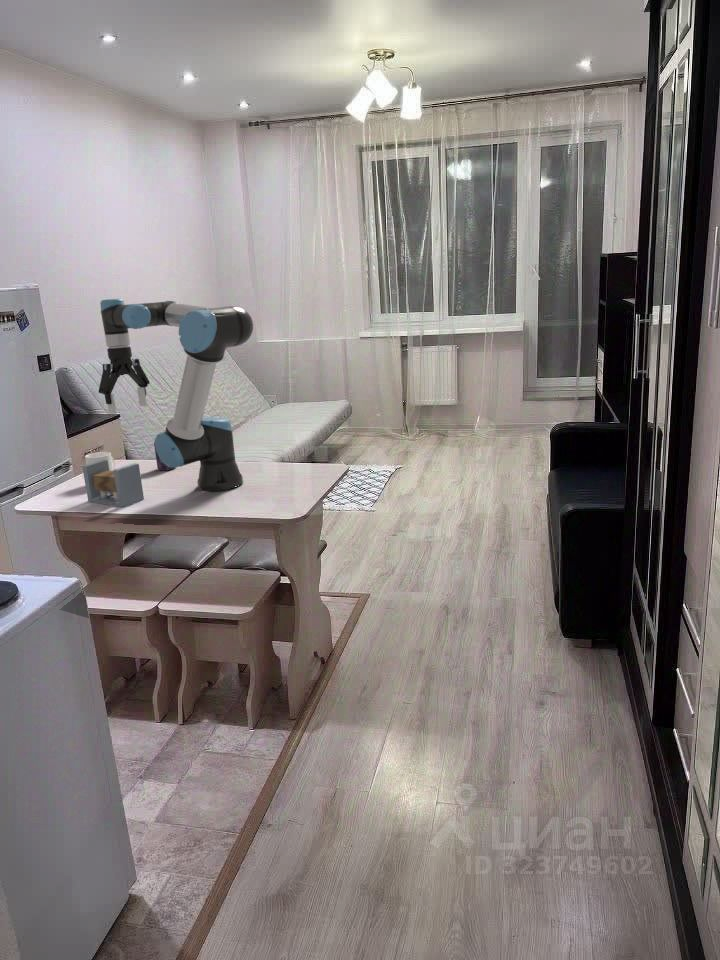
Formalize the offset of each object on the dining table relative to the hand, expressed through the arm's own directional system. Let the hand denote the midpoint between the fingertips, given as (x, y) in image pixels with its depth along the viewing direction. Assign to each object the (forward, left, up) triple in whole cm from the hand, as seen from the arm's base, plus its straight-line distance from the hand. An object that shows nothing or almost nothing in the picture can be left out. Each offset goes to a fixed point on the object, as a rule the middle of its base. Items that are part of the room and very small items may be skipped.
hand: (128, 409), depth 244 cm
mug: (+15, +3, -27) cm, 31 cm away
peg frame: (-7, +17, -26) cm, 32 cm away
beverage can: (+7, -19, -27) cm, 34 cm away
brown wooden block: (-7, +17, -22) cm, 29 cm away
